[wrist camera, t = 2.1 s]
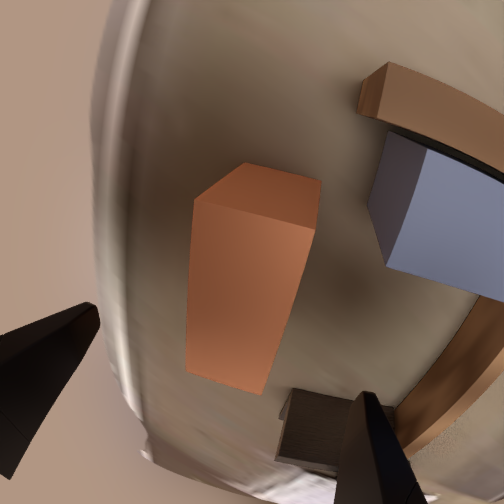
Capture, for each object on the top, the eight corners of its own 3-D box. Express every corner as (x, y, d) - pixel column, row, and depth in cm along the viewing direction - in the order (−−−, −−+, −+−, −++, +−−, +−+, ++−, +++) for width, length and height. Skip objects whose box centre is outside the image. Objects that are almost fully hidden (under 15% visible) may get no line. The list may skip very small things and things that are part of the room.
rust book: (321, 180, 13) (315, 229, 8) (282, 317, 17) (261, 395, 12) (244, 162, 13) (194, 199, 8) (223, 300, 17) (185, 370, 12)
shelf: (387, 433, 20) (386, 488, 15) (261, 409, 21) (244, 468, 17) (551, 172, 9) (616, 212, 4) (363, 80, 10) (388, 61, 5)
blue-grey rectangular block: (497, 251, 12) (546, 316, 7) (366, 204, 13) (385, 266, 8) (521, 191, 10) (585, 238, 5) (387, 130, 11) (427, 148, 6)
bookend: (370, 431, 20) (367, 488, 16) (279, 414, 21) (264, 473, 17) (393, 407, 18) (395, 471, 14) (293, 388, 19) (278, 455, 15)
